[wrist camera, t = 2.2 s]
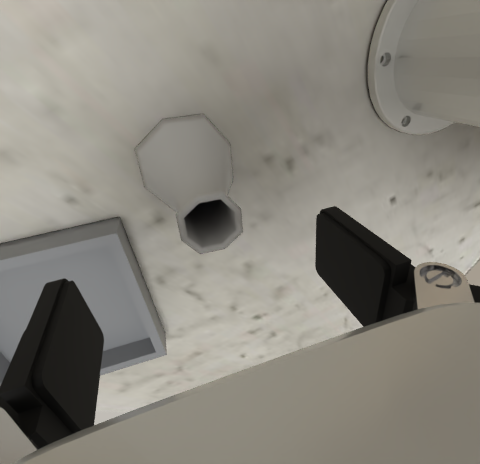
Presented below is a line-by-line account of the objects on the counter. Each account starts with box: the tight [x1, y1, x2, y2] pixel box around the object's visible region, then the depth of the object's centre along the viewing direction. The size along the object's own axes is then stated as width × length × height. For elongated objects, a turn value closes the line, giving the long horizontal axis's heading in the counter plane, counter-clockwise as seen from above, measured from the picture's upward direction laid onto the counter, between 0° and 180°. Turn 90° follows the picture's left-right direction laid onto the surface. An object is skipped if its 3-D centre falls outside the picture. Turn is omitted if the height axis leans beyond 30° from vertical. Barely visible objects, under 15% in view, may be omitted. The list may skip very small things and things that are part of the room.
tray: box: [0, 217, 167, 386], centre depth 24 cm, size 14×14×3 cm
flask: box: [135, 114, 243, 254], centre depth 18 cm, size 7×7×10 cm
